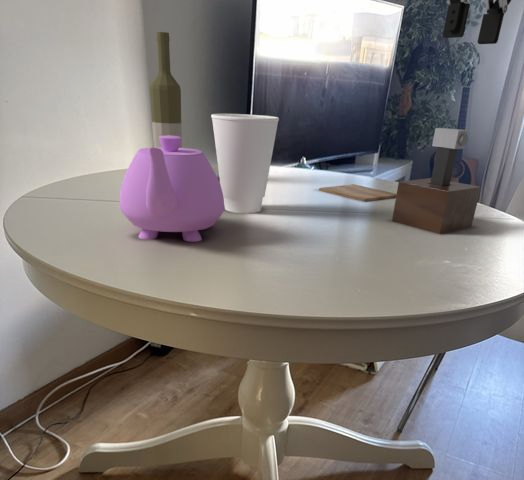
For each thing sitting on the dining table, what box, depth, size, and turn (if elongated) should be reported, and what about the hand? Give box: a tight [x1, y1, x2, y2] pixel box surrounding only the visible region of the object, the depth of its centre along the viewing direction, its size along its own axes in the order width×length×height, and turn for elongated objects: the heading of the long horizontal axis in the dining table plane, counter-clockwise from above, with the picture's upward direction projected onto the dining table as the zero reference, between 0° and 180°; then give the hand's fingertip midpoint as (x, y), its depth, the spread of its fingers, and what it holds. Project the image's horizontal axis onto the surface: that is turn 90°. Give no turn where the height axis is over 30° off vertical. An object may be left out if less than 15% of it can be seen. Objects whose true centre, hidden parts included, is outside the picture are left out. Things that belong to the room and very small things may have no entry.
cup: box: [210, 113, 280, 214], centre depth 87 cm, size 12×12×16 cm
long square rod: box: [430, 127, 469, 186], centre depth 83 cm, size 3×5×16 cm, turn 38°
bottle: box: [149, 31, 183, 148], centre depth 110 cm, size 7×7×30 cm
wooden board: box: [318, 183, 397, 203], centre depth 111 cm, size 12×14×1 cm
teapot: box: [119, 135, 225, 242], centre depth 70 cm, size 22×16×14 cm
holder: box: [391, 177, 482, 235], centre depth 86 cm, size 10×10×7 cm
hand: (470, 40), depth 74 cm, fingers open, 9 cm apart
